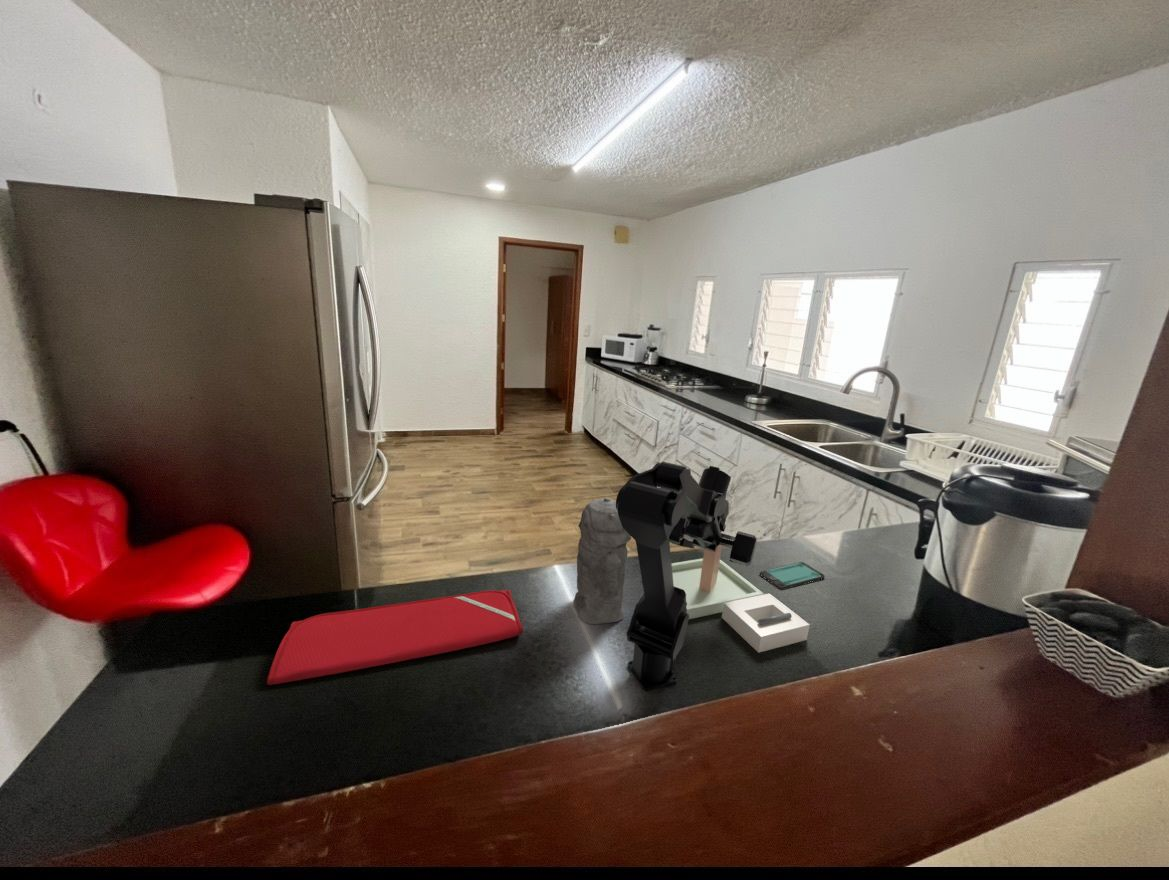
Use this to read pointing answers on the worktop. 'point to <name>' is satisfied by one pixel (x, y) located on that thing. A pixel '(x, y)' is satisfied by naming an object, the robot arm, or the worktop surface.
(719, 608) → the tray
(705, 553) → the salmon pink rectangular block
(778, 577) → the smartphone
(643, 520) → the robot arm
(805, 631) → the white slotted base
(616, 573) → the figurine
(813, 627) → the worktop surface
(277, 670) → the dish drying mat
